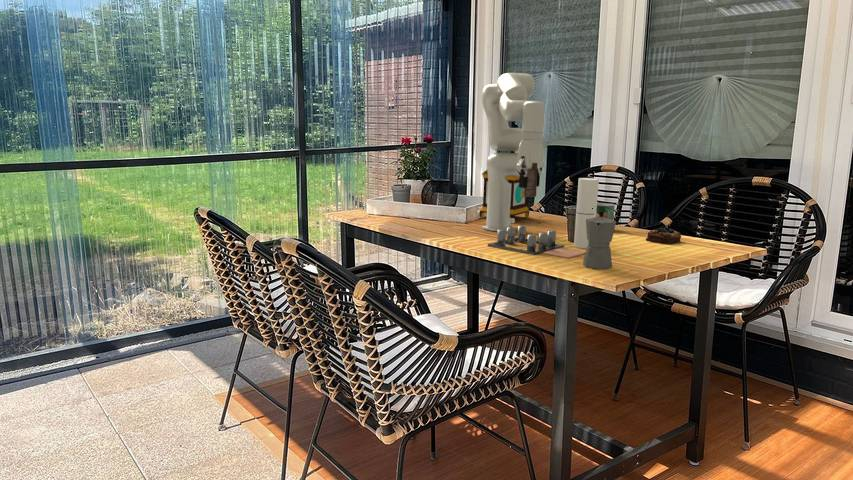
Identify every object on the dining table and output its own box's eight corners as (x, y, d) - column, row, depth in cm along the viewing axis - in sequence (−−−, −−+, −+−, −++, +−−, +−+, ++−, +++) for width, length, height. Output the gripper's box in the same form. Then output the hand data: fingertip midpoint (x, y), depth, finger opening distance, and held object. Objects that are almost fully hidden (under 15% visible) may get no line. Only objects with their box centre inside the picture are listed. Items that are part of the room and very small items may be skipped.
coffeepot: (610, 272, 203) (614, 215, 200) (579, 269, 207) (583, 212, 203) (615, 262, 217) (619, 208, 214) (586, 259, 221) (590, 206, 217)
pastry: (642, 241, 258) (644, 226, 256) (657, 237, 266) (658, 223, 265) (669, 246, 250) (670, 230, 249) (683, 242, 258) (685, 227, 257)
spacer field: (518, 239, 253) (519, 223, 252) (564, 247, 240) (565, 231, 239) (487, 246, 239) (488, 229, 238) (534, 254, 226) (535, 237, 225)
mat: (560, 249, 237) (561, 247, 237) (585, 253, 230) (585, 252, 230) (542, 253, 228) (542, 252, 228) (568, 258, 221) (568, 257, 221)
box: (520, 194, 239) (522, 161, 237) (533, 194, 239) (535, 161, 237) (523, 196, 233) (525, 162, 231) (536, 197, 233) (538, 163, 231)
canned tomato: (614, 229, 282) (616, 203, 280) (610, 232, 275) (612, 206, 273) (595, 227, 286) (597, 202, 284) (591, 230, 279) (593, 204, 277)
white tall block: (569, 245, 245) (574, 178, 240) (585, 244, 247) (590, 177, 243) (581, 249, 238) (586, 180, 233) (597, 247, 241) (602, 179, 236)
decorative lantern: (514, 223, 291) (517, 155, 286) (475, 218, 302) (477, 152, 296) (532, 217, 308) (536, 153, 302) (495, 213, 318) (498, 151, 313)
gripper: (536, 135, 241) (533, 184, 245) (509, 136, 228) (506, 187, 232) (554, 137, 236) (551, 186, 240) (527, 138, 223) (524, 190, 227)
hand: (529, 186), depth 236 cm, fingers closed on box, 7 cm apart
